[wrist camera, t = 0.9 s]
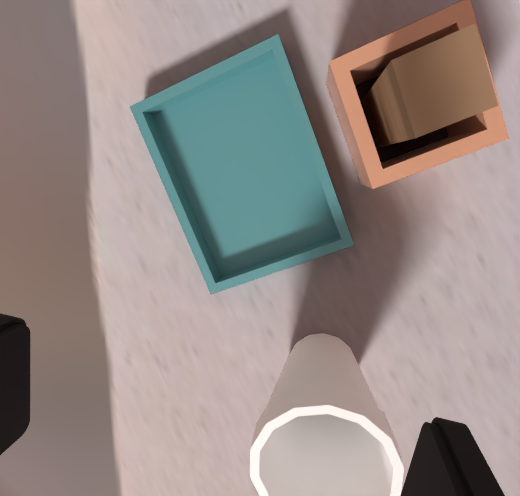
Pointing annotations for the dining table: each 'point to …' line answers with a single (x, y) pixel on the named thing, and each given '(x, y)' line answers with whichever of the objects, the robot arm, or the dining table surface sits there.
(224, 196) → the tray
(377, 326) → the dining table surface
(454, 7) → the holder cup
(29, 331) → the robot arm
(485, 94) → the walnut stick
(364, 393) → the foam cup
